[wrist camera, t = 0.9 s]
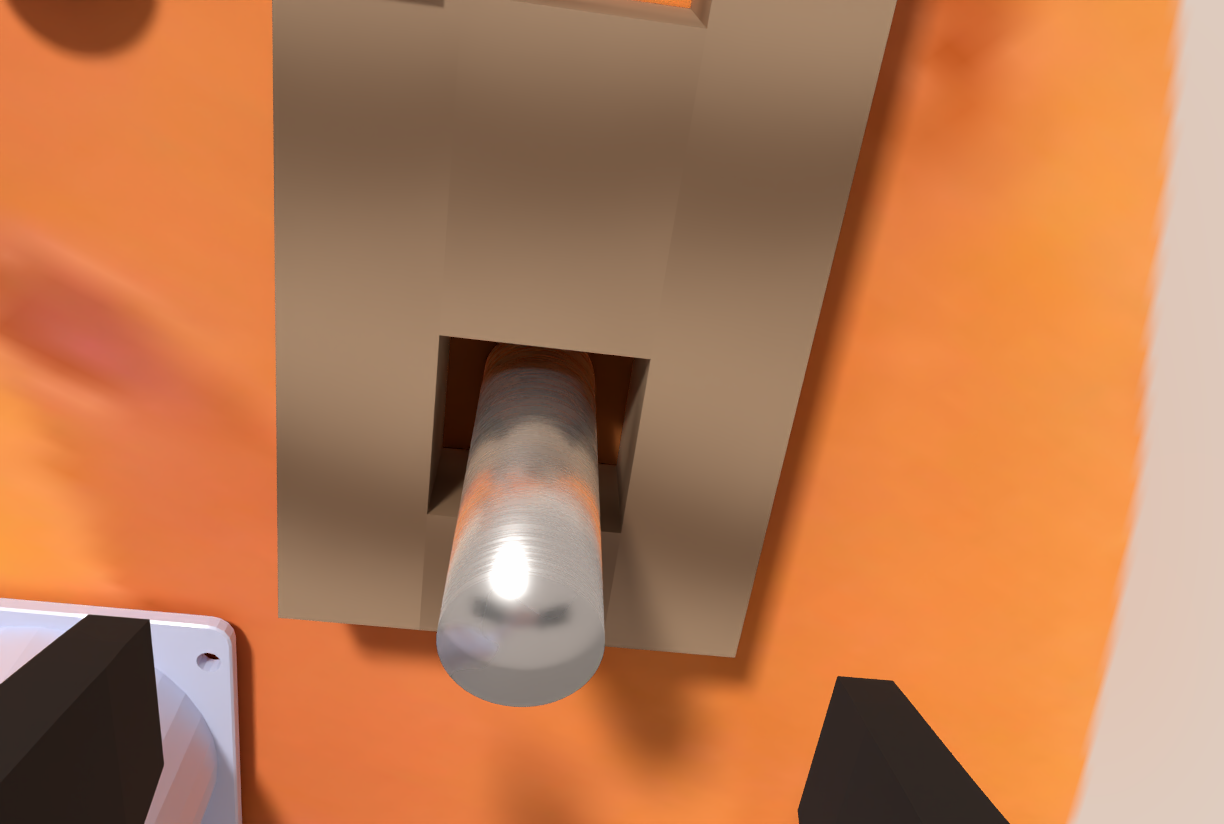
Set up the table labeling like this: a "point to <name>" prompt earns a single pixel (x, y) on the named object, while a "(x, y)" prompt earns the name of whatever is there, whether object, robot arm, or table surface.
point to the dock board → (554, 274)
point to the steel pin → (527, 534)
